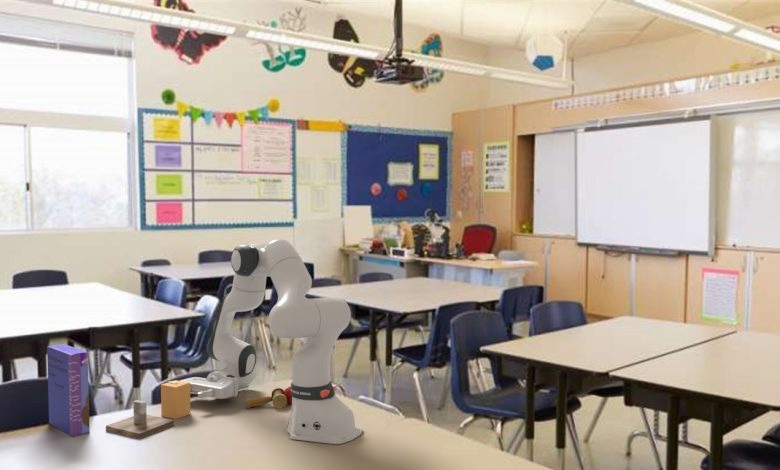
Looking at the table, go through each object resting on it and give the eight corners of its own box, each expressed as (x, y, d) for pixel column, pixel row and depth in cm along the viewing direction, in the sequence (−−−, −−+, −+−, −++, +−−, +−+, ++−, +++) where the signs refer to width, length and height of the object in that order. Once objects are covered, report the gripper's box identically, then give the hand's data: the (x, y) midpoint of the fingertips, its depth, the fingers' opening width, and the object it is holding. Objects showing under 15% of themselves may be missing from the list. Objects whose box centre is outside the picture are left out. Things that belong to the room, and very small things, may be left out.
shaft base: (173, 425, 198) (173, 399, 197) (139, 438, 186) (138, 411, 186) (141, 418, 204) (141, 392, 204) (105, 430, 193) (105, 404, 193)
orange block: (190, 413, 209) (189, 381, 208) (176, 419, 204) (175, 386, 203) (175, 410, 212) (175, 379, 211) (161, 415, 207) (160, 383, 206)
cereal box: (89, 432, 192) (87, 351, 191) (72, 436, 188) (70, 354, 187) (65, 419, 203) (63, 343, 202) (49, 423, 200) (47, 345, 199)
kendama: (248, 416, 211) (303, 403, 215) (244, 396, 211) (300, 384, 216) (247, 413, 218) (300, 401, 223) (244, 394, 219) (297, 382, 223)
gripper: (196, 370, 229) (165, 380, 217) (241, 377, 219) (211, 388, 207) (196, 388, 230) (166, 398, 217) (241, 396, 220) (212, 407, 208)
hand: (188, 393), depth 212 cm, fingers open, 8 cm apart
